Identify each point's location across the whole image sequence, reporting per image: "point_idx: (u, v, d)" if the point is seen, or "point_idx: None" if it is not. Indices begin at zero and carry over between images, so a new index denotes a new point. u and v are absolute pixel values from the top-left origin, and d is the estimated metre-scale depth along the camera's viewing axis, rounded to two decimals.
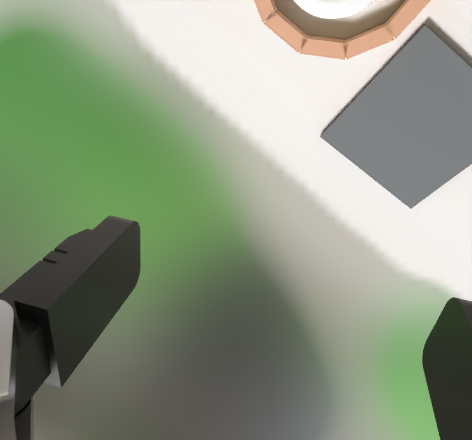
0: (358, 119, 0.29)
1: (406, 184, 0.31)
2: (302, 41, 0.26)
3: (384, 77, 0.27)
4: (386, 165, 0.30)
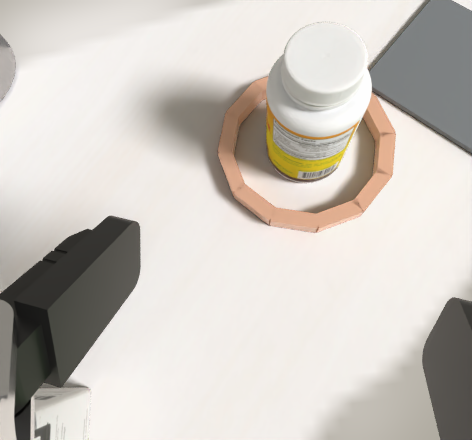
0: (456, 120, 0.27)
1: None
2: (380, 173, 0.25)
3: (408, 103, 0.27)
4: None
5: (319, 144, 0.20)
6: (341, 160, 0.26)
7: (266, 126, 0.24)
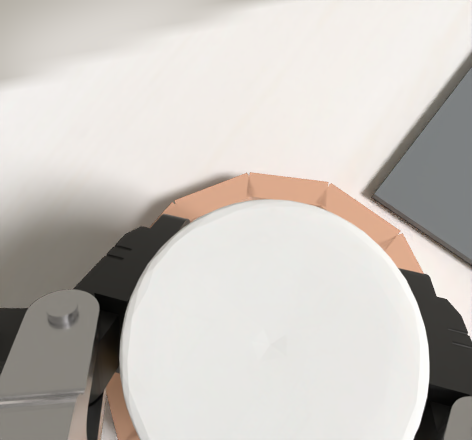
0: None
1: None
2: None
3: (464, 242, 0.14)
4: None
5: None
6: None
7: None
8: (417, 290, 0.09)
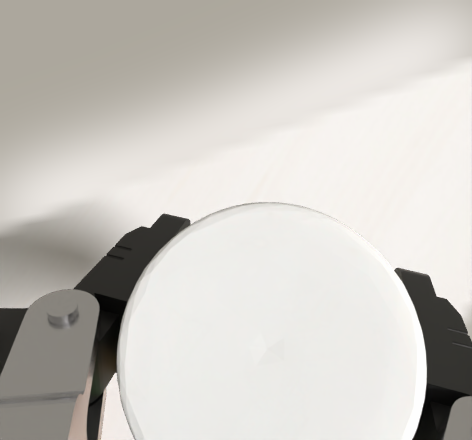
0: None
1: None
2: None
3: None
4: None
5: None
6: None
7: None
8: (417, 290, 0.09)
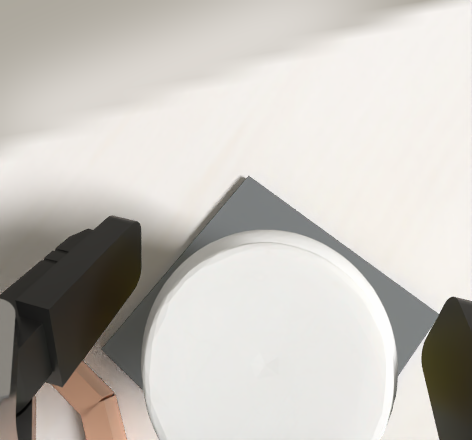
0: None
1: None
2: None
3: None
4: None
5: None
6: None
7: None
8: None
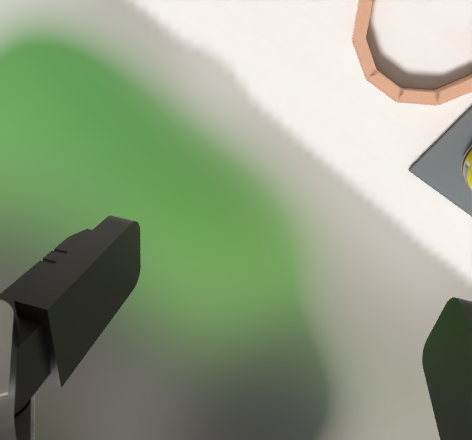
0: (444, 154, 0.34)
1: None
2: (399, 92, 0.31)
3: (468, 118, 0.32)
4: (469, 193, 0.35)
5: None
6: None
7: None
8: None
